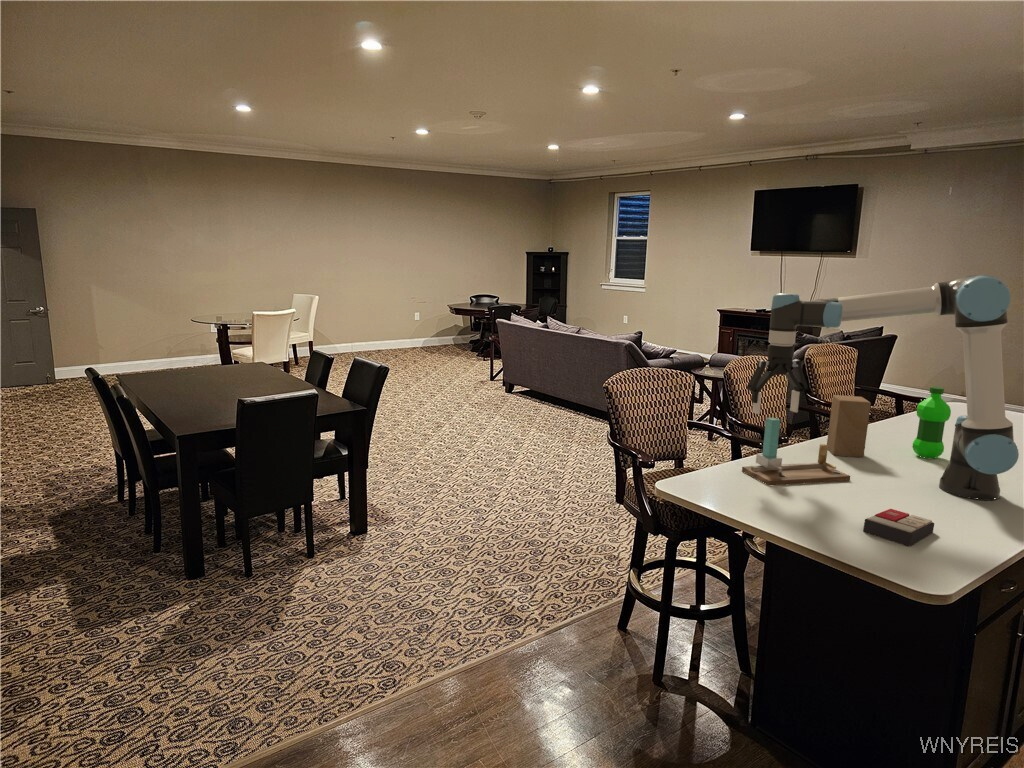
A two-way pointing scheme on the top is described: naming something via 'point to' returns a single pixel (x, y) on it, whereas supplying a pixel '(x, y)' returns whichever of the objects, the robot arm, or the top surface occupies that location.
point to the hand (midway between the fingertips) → (775, 412)
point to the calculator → (898, 527)
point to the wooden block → (848, 425)
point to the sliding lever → (770, 446)
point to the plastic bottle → (931, 424)
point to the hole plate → (799, 472)
